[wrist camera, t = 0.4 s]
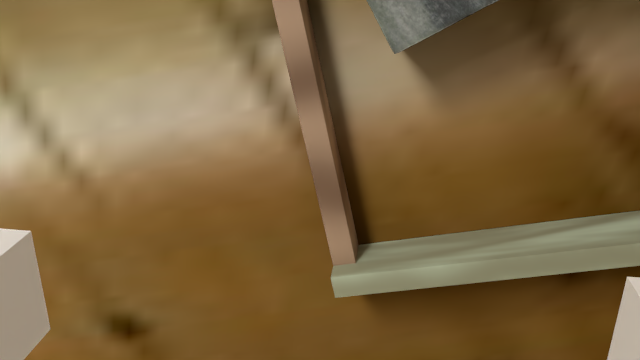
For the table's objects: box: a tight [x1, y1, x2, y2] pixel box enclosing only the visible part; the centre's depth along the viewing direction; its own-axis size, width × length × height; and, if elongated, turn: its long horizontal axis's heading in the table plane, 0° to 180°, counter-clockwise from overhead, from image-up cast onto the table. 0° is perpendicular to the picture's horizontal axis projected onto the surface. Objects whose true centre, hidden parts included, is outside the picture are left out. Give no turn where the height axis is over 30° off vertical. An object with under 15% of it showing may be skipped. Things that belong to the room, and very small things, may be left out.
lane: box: [272, 0, 640, 298], centre depth 34 cm, size 28×23×4 cm
